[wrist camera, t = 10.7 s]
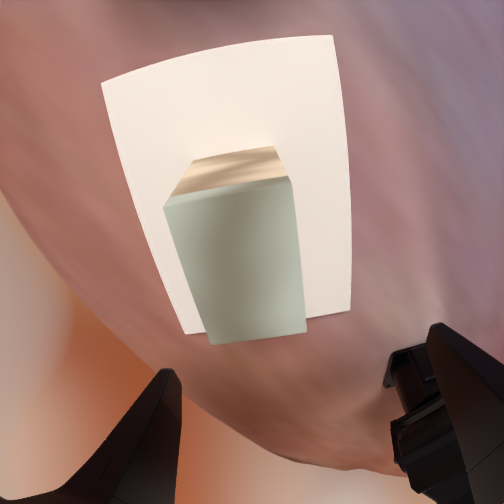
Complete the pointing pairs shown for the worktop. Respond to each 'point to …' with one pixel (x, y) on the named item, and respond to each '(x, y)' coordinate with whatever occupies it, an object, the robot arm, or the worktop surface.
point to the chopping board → (242, 148)
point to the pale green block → (240, 245)
